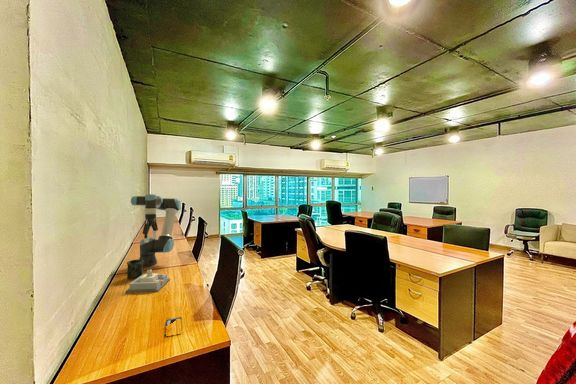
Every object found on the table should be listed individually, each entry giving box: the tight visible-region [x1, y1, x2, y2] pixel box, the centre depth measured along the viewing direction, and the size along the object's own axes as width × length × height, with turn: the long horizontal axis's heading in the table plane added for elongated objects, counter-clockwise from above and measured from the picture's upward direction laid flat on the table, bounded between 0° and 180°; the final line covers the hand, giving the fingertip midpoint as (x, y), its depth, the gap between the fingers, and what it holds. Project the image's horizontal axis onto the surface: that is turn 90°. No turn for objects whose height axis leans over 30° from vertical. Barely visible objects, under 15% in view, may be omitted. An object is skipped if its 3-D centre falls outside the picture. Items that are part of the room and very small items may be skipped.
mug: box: [126, 259, 144, 280], centre depth 179 cm, size 11×15×12 cm
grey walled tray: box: [125, 273, 171, 294], centre depth 164 cm, size 20×20×5 cm
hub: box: [140, 272, 164, 285], centre depth 165 cm, size 13×8×6 cm, turn 96°
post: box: [146, 268, 153, 277], centre depth 164 cm, size 3×3×10 cm
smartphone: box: [165, 316, 183, 326], centre depth 116 cm, size 7×1×15 cm
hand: (150, 240), depth 187 cm, fingers open, 13 cm apart
